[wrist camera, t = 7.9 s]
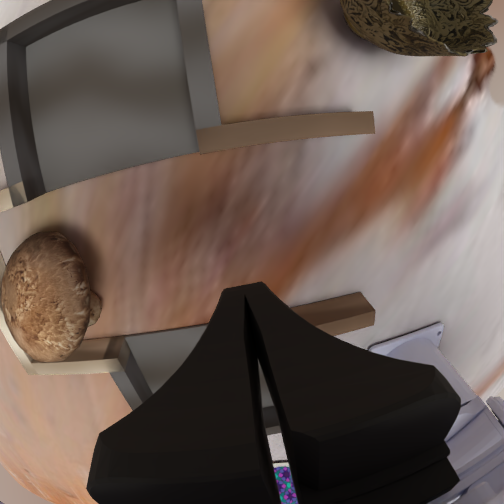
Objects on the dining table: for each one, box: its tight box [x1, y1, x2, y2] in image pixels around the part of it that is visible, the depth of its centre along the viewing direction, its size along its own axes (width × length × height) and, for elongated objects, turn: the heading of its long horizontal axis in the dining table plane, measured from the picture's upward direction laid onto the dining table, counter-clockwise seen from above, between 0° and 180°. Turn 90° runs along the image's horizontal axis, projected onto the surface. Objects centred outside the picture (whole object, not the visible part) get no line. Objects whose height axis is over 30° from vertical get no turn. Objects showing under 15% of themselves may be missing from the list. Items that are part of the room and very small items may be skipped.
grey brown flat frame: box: [0, 0, 375, 435], centre depth 17 cm, size 33×26×2 cm
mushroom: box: [1, 232, 102, 363], centre depth 16 cm, size 8×8×6 cm
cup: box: [340, 0, 498, 56], centre depth 10 cm, size 8×7×8 cm
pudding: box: [273, 463, 298, 504], centre depth 29 cm, size 12×12×5 cm
